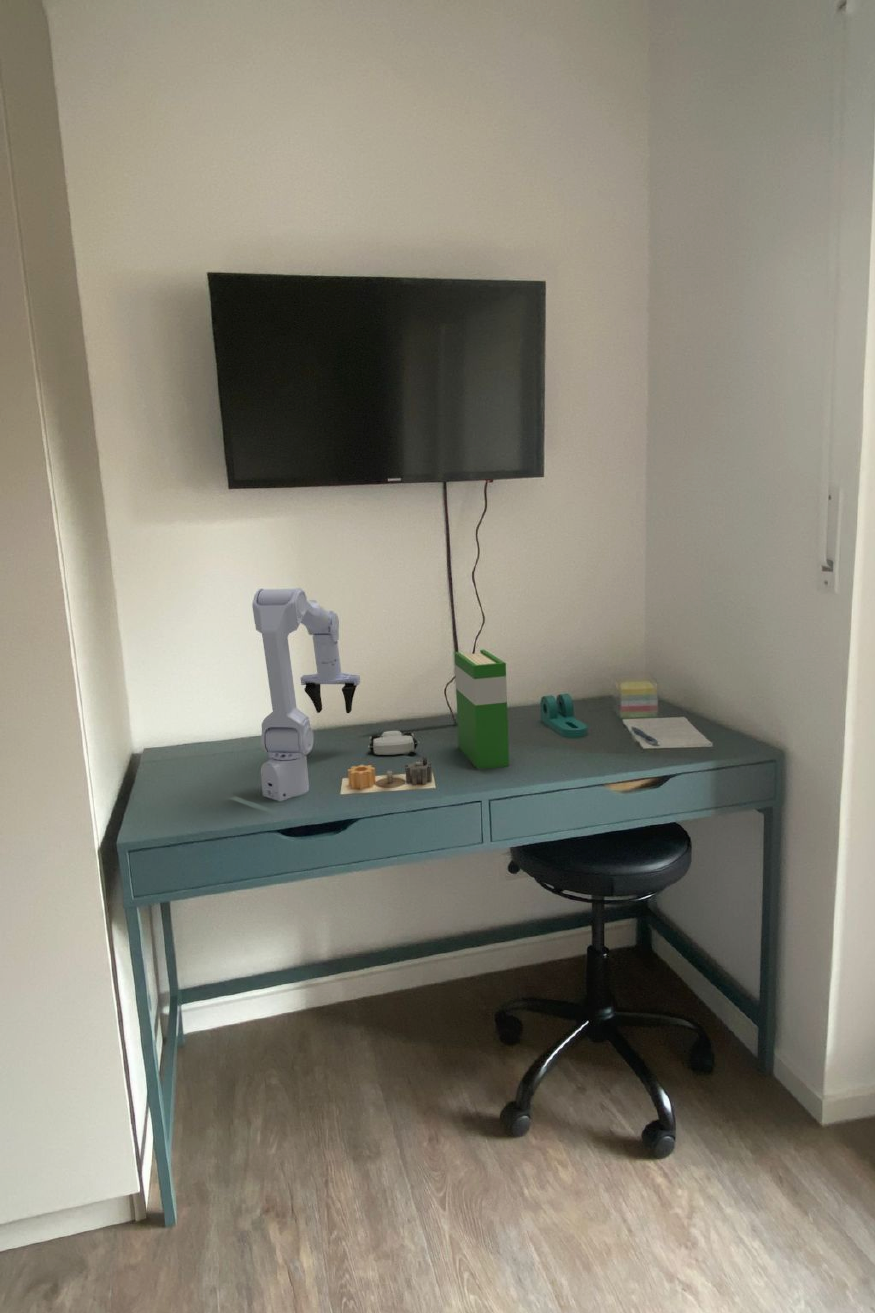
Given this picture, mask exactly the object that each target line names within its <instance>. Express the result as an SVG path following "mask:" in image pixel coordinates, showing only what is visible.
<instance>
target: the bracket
mask: <svg viewBox="0 0 875 1313" xmlns="http://www.w3.org/2000/svg"><path fill="white" fill-rule="evenodd" d="M556 696H557V697H556V698H555V696H554V695H543V696H541V698H540V705H539V706H540V709H539V710H540V722H541V723H543V724H544V725H546V726H547V727H548V728H550V729H551V730H552V731H553V732H555V733H557V734H558V735H560V736H561V737H563V738H567V739H579V738H580V739H581V738H584V737H586V736H587V735H588V725H587V724H585V723H584V722H582V721H580V720H579V719H577V718H575V712H574V711H575V709H574V702H573V699H572V696H571V695H570V694H569V693H561V694H558V695H556Z"/></svg>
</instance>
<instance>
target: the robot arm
mask: <svg viewBox="0 0 875 1313" xmlns="http://www.w3.org/2000/svg"><path fill="white" fill-rule="evenodd" d="M251 606H252V613H253V619H254V620H253V621H254V624H255V630H256V631H257V632H259V633H260V634H261V637H262V638H261V639H262V642H263V651H264V657H265V665H266V672H267V679H268V680H267V681H268V687H269V694H270V700H271V701H270V702H271V708H272V711H271V712H270V713H269V714H268V715H266V717H265V718H264V719H263V720H262V723H261V735H260V736H261V737H260V743H261V747H262V750H263V751H264V752H265V754H268V758H270V759H269V760H268V761H266V762H264V763H263V764H262V765H261V768H260V778H261V779H260V780H261V791H262V792H261V793H262V796H263V797H266V798H269V799H272V800H273V801H274V800H275V801H278V802H283V801H285V800H288V799H291V798H293V797H294V798H295V797H298V796H301V795H305V794H306V793H307V792H309V790H310V782H309V773H308V762H307V760H308V759H307V755H308V754H309V753H310V751H312V749H313V746H314V740H315V739H314V730H313V729H312V726H311V724H310V723H311V722H310V719H309V718H310V717H309V716H308V715H307V714H306V713H304V712H303V711H301V710H300V709H299V708H298V706H297V701H296V699H297V698H296V692H295V686H294V677H293V670H292V662H291V653H290V646H289V639H288V638H289V635H290V634H291V633H294V632H295V631H297V630H298V628H299V626H300V624H301V625H303V626H305V628H306V630H307V633H308V635H309V636H312V643H313V649H314V657H315V665H316V673H315V674H312V673H311V674H303V675H302V676H301V677H300V685H301V686H305V687H304V692H305V693H306V694H307V696H308V697H309V698H310V700H311V702H312V704H313V706H314V708H315V712H316V713H318V714H319V713H321V712H322V710H323V703H322V695H321V685H343V687H342V688H341V691H342V695H343V697H344V698H343V699H344V704H345V705H344V706H345V707H344V708H345V712H346V714H350V713H351V712H352V710H353V709H352V708H353V699H354V696H355V692H356V690H357V689H356V688H357V686H359V685H360V683H361V678H360V674H351V673H344V672H342V668H341V660H340V650H339V644H338V642H339V637H340V635H339V629H340V620H339V616H338V614H337V613H335V612H334V610H326V609H325V608H324V607H323V606H321V605H319V604H318V603H317V600H315V599H309V600H307V595H306V592H305V590H304V589H303V588H301V587H296V588H275V589H272V588H271V589H266V588H259V589H258V590H257V591H256V592H255V594H254V596H253V600H252V603H251Z"/></svg>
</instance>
